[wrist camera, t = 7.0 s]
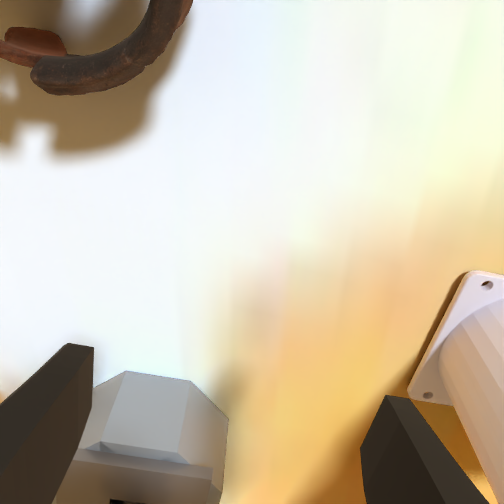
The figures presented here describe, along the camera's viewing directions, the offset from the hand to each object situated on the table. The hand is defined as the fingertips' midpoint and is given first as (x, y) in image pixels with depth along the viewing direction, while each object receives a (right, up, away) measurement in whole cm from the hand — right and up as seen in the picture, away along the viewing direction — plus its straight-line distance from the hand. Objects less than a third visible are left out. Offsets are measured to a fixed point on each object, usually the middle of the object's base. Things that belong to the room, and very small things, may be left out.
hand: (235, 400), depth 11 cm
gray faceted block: (-5, -7, +15) cm, 17 cm away
